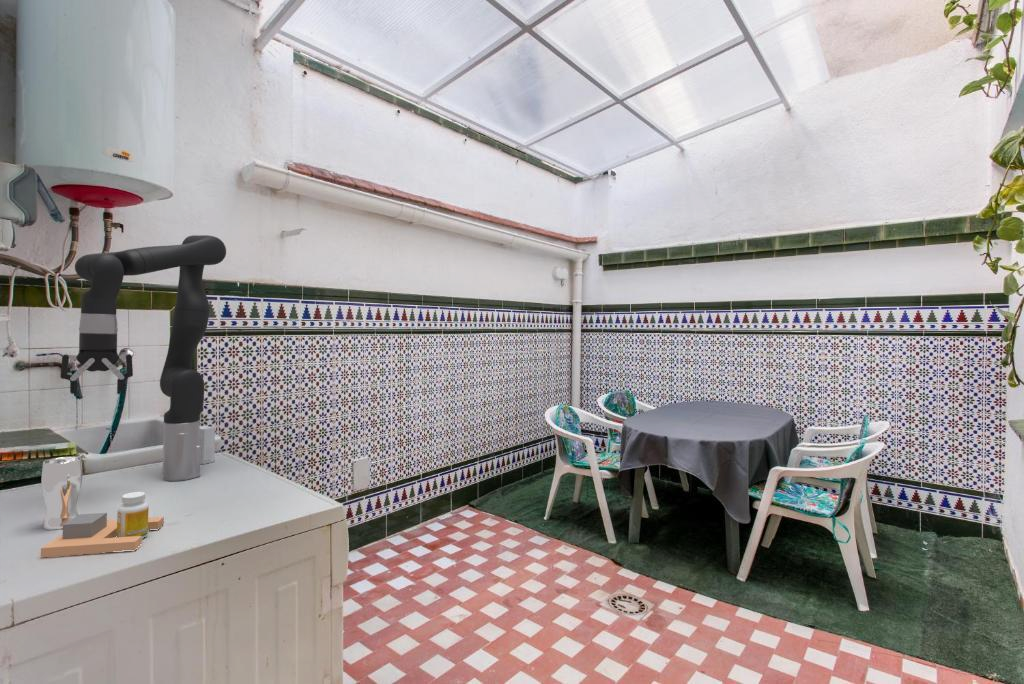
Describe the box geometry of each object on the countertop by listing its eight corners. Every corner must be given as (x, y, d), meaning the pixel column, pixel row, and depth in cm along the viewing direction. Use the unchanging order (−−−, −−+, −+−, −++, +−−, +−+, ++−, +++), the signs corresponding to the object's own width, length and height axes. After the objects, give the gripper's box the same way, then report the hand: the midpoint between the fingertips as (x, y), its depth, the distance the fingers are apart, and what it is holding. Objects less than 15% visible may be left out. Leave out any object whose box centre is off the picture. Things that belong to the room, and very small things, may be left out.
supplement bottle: (110, 543, 105) (111, 498, 105) (130, 532, 111) (131, 490, 110) (134, 544, 105) (135, 499, 105) (153, 534, 110) (154, 491, 110)
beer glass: (46, 533, 109) (47, 465, 109) (36, 526, 113) (37, 460, 112) (86, 523, 115) (87, 459, 115) (75, 517, 119) (76, 454, 118)
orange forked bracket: (163, 525, 115) (164, 503, 115) (135, 551, 102) (135, 527, 102) (81, 530, 111) (82, 508, 111) (40, 558, 98) (41, 533, 98)
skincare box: (215, 461, 170) (215, 427, 170) (203, 464, 166) (204, 429, 166) (201, 459, 172) (202, 425, 172) (190, 462, 168) (191, 427, 168)
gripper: (132, 332, 135) (131, 391, 135) (62, 330, 126) (61, 394, 126) (134, 332, 129) (133, 394, 129) (60, 331, 120) (59, 398, 120)
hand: (97, 394), depth 128 cm, fingers open, 8 cm apart
